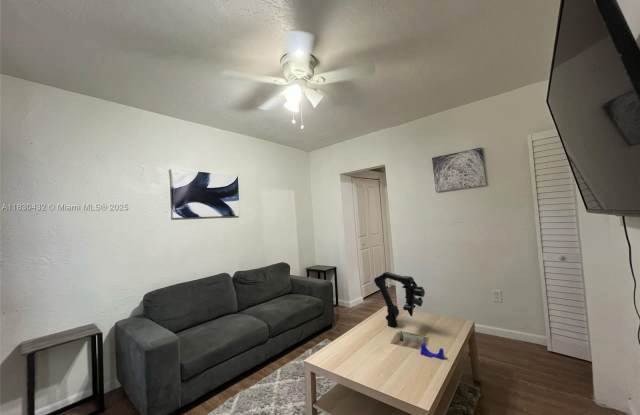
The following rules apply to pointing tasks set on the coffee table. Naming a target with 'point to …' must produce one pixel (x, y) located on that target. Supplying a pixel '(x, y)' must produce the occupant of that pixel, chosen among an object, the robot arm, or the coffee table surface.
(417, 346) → the hinge board
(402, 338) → the steel leaf
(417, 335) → the block
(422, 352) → the cable clip
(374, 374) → the coffee table surface
